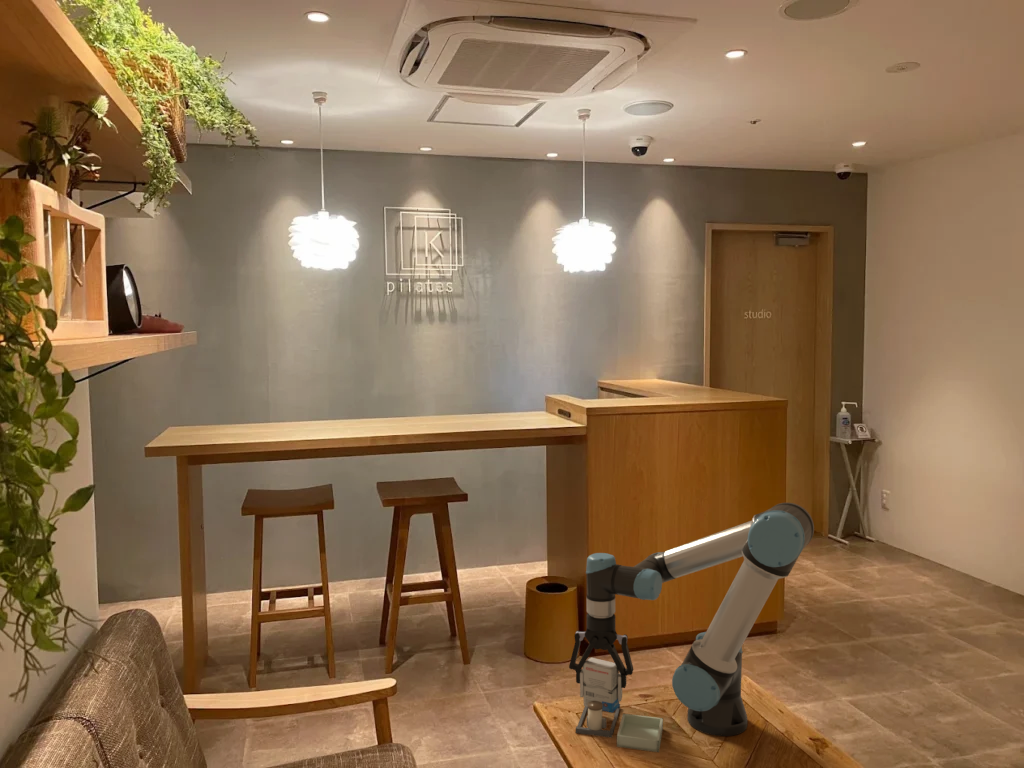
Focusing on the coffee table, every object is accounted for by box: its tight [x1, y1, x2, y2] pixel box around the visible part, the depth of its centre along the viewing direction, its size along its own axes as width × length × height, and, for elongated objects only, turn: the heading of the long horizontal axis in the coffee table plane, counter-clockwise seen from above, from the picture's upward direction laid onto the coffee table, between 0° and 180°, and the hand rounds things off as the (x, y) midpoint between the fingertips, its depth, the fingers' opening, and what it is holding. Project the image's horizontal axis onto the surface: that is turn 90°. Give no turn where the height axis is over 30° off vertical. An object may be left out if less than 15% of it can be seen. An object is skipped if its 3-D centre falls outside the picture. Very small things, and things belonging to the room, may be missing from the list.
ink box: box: [582, 657, 620, 714], centre depth 216 cm, size 9×5×12 cm, turn 57°
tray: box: [616, 712, 664, 753], centre depth 206 cm, size 10×12×3 cm
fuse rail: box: [575, 703, 621, 739], centre depth 215 cm, size 9×16×2 cm, turn 165°
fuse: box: [587, 701, 603, 730], centre depth 209 cm, size 4×4×7 cm
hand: (601, 697), depth 216 cm, fingers closed on ink box, 9 cm apart
